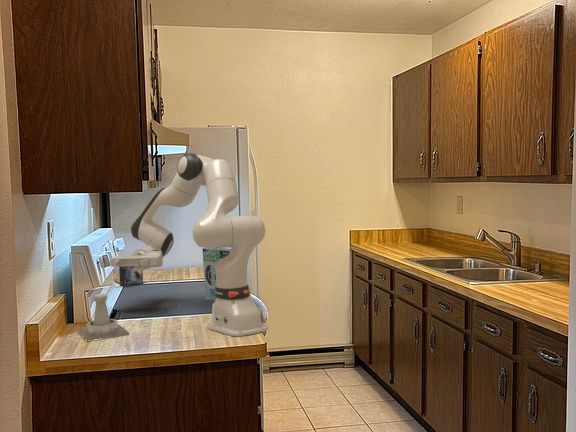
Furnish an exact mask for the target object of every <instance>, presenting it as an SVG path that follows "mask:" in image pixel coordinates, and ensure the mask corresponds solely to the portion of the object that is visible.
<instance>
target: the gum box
mask: <svg viewBox="0 0 576 432" xmlns="http://www.w3.org/2000/svg"><path fill="white" fill-rule="evenodd" d="M201 248H202V262H203V275H204V276H203V277H204V280H203V281H204V295H205V298H204V299H205V300H207V301H211V302H215V300H216V296H215V287H216V270H215V268H216V265H217V263H218V262H219V261H220V260H221V259H223V258H224V257H226V256H228V255H229V253H230V252H231V248H204V247H201Z"/></svg>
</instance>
